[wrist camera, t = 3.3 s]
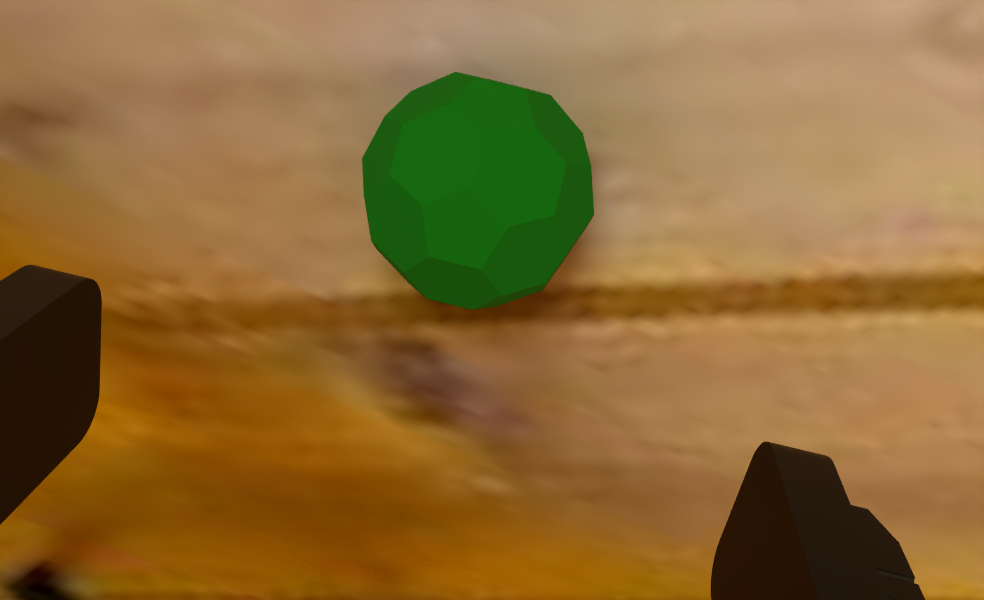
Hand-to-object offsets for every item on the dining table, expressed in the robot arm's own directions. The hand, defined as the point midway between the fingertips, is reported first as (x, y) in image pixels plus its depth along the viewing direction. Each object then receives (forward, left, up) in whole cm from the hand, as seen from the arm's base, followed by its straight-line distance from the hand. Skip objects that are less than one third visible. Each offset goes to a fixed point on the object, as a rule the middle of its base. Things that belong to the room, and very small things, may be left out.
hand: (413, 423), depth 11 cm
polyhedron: (0, 0, -12) cm, 12 cm away
